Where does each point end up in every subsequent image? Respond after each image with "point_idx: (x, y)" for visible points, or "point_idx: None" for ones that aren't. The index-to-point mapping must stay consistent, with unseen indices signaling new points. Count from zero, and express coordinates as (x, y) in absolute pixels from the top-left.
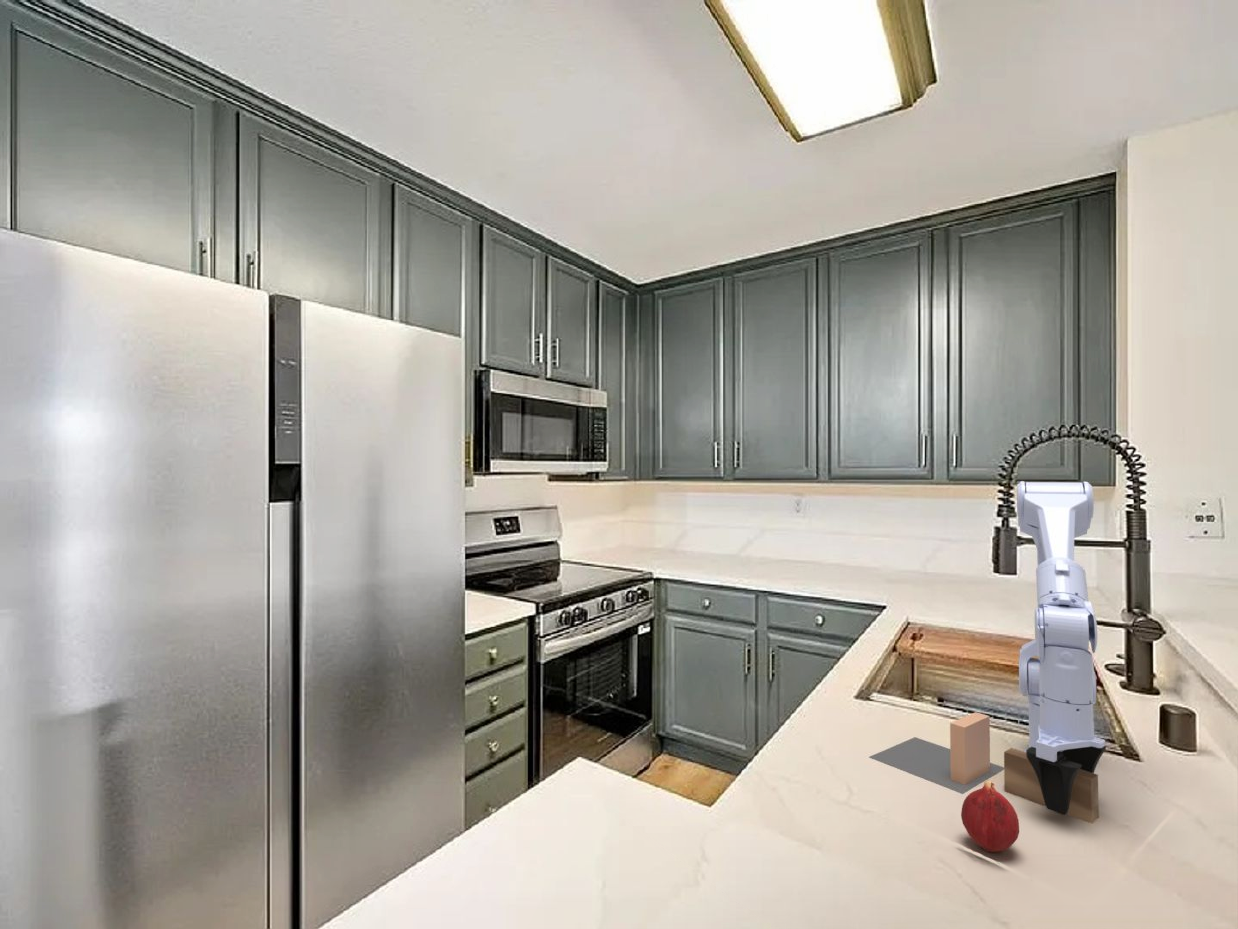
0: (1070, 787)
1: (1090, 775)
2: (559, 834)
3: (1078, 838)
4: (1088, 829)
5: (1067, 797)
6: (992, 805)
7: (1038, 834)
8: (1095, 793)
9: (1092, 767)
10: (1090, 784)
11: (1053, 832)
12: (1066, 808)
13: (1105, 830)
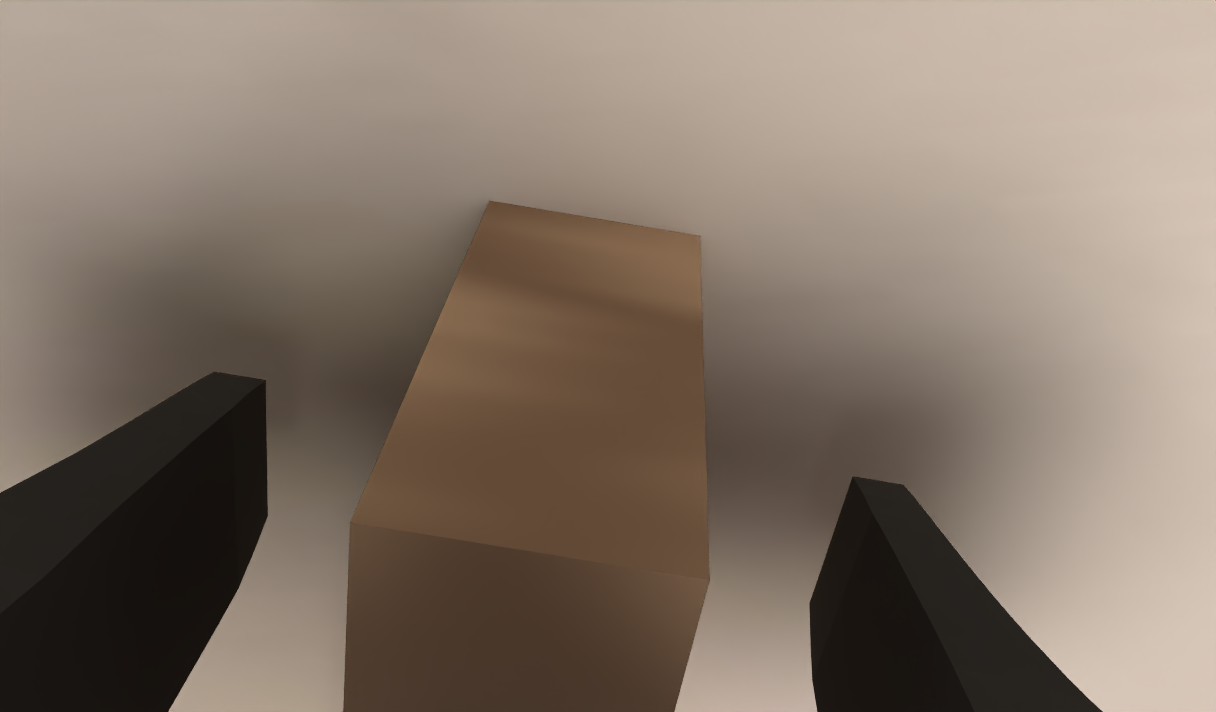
0: (1049, 704)
1: (506, 600)
2: None
3: (1061, 305)
4: (770, 257)
5: (1009, 617)
6: None
7: (1199, 550)
8: (534, 386)
9: (35, 589)
10: (697, 532)
11: (1072, 472)
12: (934, 525)
13: (663, 128)
